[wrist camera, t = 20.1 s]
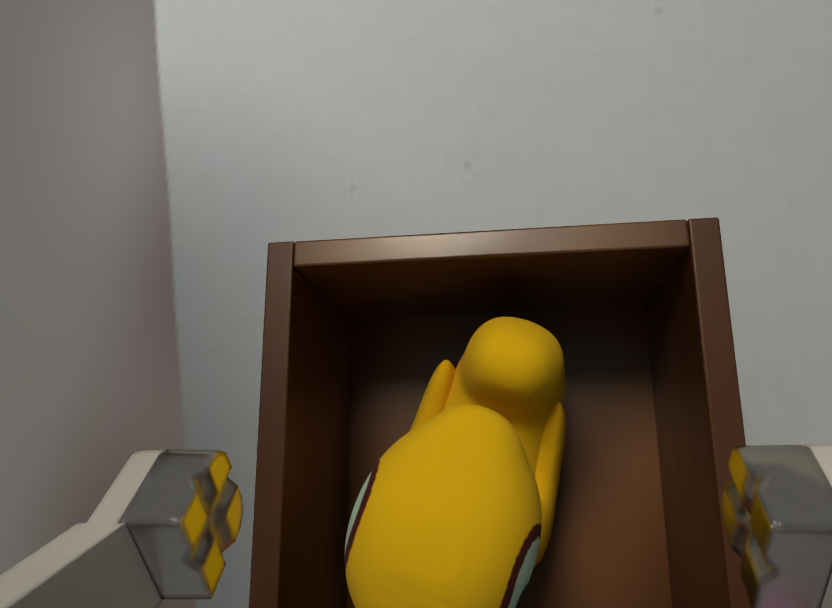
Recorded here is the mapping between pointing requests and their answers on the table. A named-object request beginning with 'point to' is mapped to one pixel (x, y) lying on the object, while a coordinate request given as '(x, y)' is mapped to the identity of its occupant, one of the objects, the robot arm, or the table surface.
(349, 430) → the holder
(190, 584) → the robot arm
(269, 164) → the table surface
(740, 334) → the table surface
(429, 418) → the duckling
